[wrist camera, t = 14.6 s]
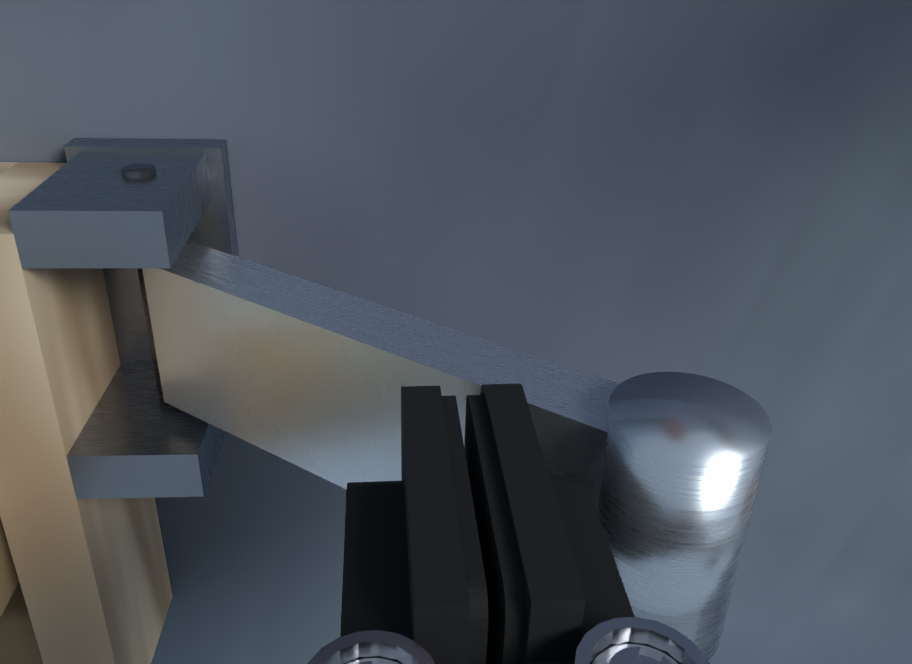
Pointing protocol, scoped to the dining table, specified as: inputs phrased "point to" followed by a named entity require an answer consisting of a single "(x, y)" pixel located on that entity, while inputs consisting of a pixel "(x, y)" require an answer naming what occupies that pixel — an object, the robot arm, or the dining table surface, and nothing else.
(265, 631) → the dining table surface
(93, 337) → the socket
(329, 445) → the latch bar
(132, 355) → the bracket
